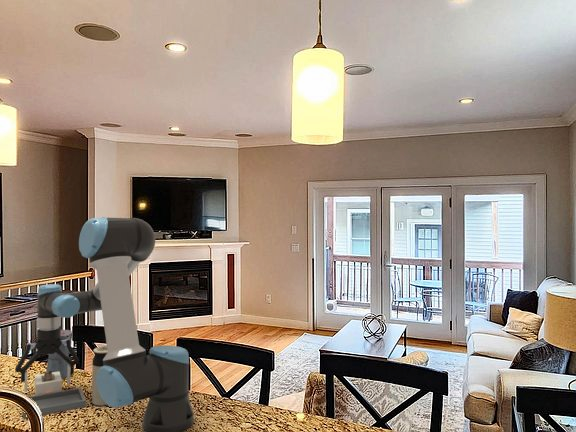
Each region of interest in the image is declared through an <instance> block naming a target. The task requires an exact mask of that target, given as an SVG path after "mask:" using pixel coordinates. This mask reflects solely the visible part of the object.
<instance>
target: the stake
mask: <svg viewBox="0 0 576 432" xmlns="http://www.w3.org/2000/svg"><path fill="white" fill-rule="evenodd" d="M43 374H44V382H45V381H51V380H52V371H47V372H46V371H44V373H43Z"/></svg>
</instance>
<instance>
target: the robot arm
mask: <svg viewBox="0 0 576 432" xmlns="http://www.w3.org/2000/svg"><path fill="white" fill-rule="evenodd" d="M155 246H156V234H155V232H154V229H153V228H152V226H151V225H150V224H149V223H148V222H146V221H144V219H140V218H136V217H106V216H102V217H93V218H90V219H88V220H87V221H86V222H85V223H84V224H83V226H82V228H81V230H80V233H79V238H78V249H79V252H80V254H81V256H82V257H83V258H86V259H89V265H90V266H91V267H92V268H93V269H94V270H96V275H97V277H96V278H97V283H96V284H95V285H94V287H93V288H92V289H91V290H83V291H74V292H69V293H66V292H65V293H63V291H62V285H60V284H57V283H54V284H52V283H50V284H42V285H40V286H39V287H38V289H37V296H36V297H37V318H36V327H37V330H36V342H35V343H30V342H27V343H26V348H25V351H24V352H23V354H22V355H21V357H20V359H19V361H18V363H17V365H16V366H15V368H14V369H15V370H14V371H15V373H20V381H21V383H24V393H26V392H28V370H29V369H30V368H31V366H32V365H33V364H34V362H35V361H37V359H38V358H39V357H40V356H41V355H43V356H46V355H49V354H54V353H55V352H56V353H58V354H59V355H60V356H61V357H62V358H63V359H64V360H65V361H66V362H67V363H68V364H69V365H68V369H67V377H66V381H67V382H66V383H67V385H68V386H70V385H71V375H74V373H75V371H74V370H75V368H74V367H75V365H77V364H79V363H80V360H79V357H78V356H77V354H76V351H75V350H74V349H73V347H72V346H71V345H72V344H71V345H70V340H69V338H67V339H66V340H62V341H61V339H60V337H61V330H62V329H61V328H60V326H62V318H65V319H66V318H68V319H69V318H72V317H74V316H75V315H77V314H85V313H88V312H89V313H90V312H91V313H92V312H96V311H101V312H102V313H101V314H102V320H103V321H102V322H103V326H104V327H103V328H104V335H105V343H106V346H107V351H108V352H107V354H106V356H105V357H104V359H103V365H104V366H102V367H101V368H100V369H99V370H98V372H97V377H96V382H97V387H98V391H99V393H100V396H101V397H102V399H103V400H104V401H105V403H106V404H107V405H106V406H109V407H110V408H116V409H117V408H120V407H124V406H131V405H132V404H133V403H136V402H138V401H143V400H145V399H148V401H147V405H146V407H145V411H144V413H143V416H142V429H143V430H144V431H146V432H184V431H185V430H188V429H189V428H190V427H192V425H193V424H194V423H195V421H194V420H195V414H194V410H193V407H192V405H191V404H192V403H191V401H190V398H189V375H190V374H189V372H190V371H189V370H190V369H189V367H190V361H189V360H190V357H189V352H188V350H187V349H186V348H183V347H181V346H176V345H167V344H166V345H154V346H152V347H151V348H150V349H149V351H148V353H149V354H147V350H146V349H145V348H144V347H142V346H141V345H140V341H139V336H138V328H137V322H136V315H135V309H134V303H133V295H132V289H131V284H130V283H131V282H130V281H131V280H130V276H131V275H132V274H133V272H134V271H135V269H136V268H137V267H138V266H139V265H140V263H143V262H145V261H147V259H148V258H149V257H150V256H151V255H152V254H153V250H154V249H155ZM61 344H64V346H67V348H68V350H69V354H70V356H71V357H72V358H73V360H72V359H71V358H70V357H69V355H68V356H67V355H66V354H65V353H64V352H63V351H61V349H60V348H59V347H60V346H61ZM34 348H35V349H36V351H35V353H34V354H32V356H31V357H30V359H29V360H27V358H28V356H29V354H30V352H31V350H33V349H34ZM26 360H27V362H26V363H25V361H26ZM24 363H25V364H24Z"/></svg>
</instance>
